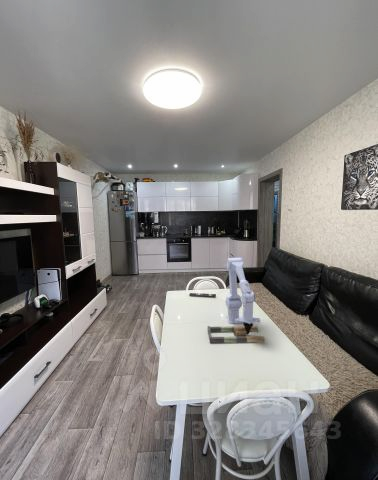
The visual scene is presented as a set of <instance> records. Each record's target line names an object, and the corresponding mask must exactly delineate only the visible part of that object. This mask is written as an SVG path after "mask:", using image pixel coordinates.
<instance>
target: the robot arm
mask: <svg viewBox="0 0 378 480" xmlns="http://www.w3.org/2000/svg"><path fill="white" fill-rule="evenodd" d="M225 264H226V270H227V271H228V280H229V282H228V283H229V294H228V295H226V296H225V297H226V299H225V306H226V308H227V315H226V319H227V321H228V324H241V323H242V324H243V326H244V327H245V330H246V331H247V335H246V336H250V329H251V328H252V326H254V323H258V324H259V323H261V319H260V317H254V302H256V294H255V293H254V291H253V290H252V289H251V286H250V283H249V280H246V277H245V272H244V268H243V267H244V259H243V258H242V257H241V256H240V257H231V258H230V257H228V258H227V260H226V263H225ZM237 277H238V280H239V283H237V282H238V281H237ZM238 285H239V289H240V292H241V295H239V294H238ZM241 308H242V317H240V310H241Z"/></svg>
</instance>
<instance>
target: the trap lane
mask: <svg viewBox="0 0 378 480" xmlns="http://www.w3.org/2000/svg"><path fill="white" fill-rule="evenodd" d="M238 326H239V325H235V326H229V325H228V326H210V325H207V335H208V340H209V343H210V344H227V343H231V344H235V343H236V344H237V343H241V344H242V343H265V336H264V335H251V336H250V335H246V336H234V335H233V336H212V333H233V332H234V327H238ZM243 327H244V325H243ZM244 328H245V327H244ZM250 332H251V333H252V332H259V327H258V325H253V326H252V328H251V329H250ZM250 332H249V333H250Z"/></svg>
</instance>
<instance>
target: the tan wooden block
mask: <svg viewBox="0 0 378 480" xmlns="http://www.w3.org/2000/svg"><path fill="white" fill-rule="evenodd" d="M237 326H238V327H234V332H232V333H233V337H234V336H248V335H247V331H246V330H245V328H244V327H243V326H244V325H243V326H242V325H237Z"/></svg>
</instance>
